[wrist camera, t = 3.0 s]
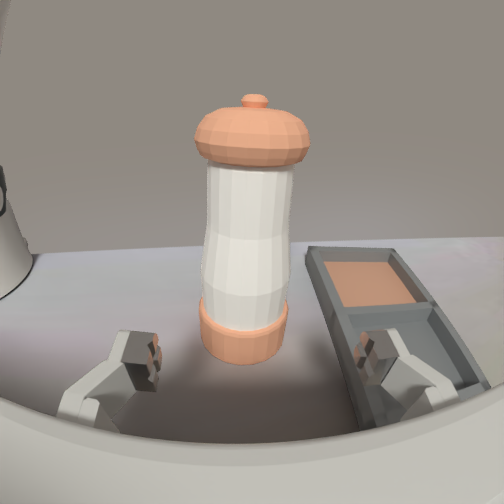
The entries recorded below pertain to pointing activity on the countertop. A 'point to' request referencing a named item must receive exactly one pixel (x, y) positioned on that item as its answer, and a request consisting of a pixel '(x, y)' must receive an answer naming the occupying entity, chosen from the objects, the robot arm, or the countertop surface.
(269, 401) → the countertop surface
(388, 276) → the tray
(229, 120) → the salt shaker
